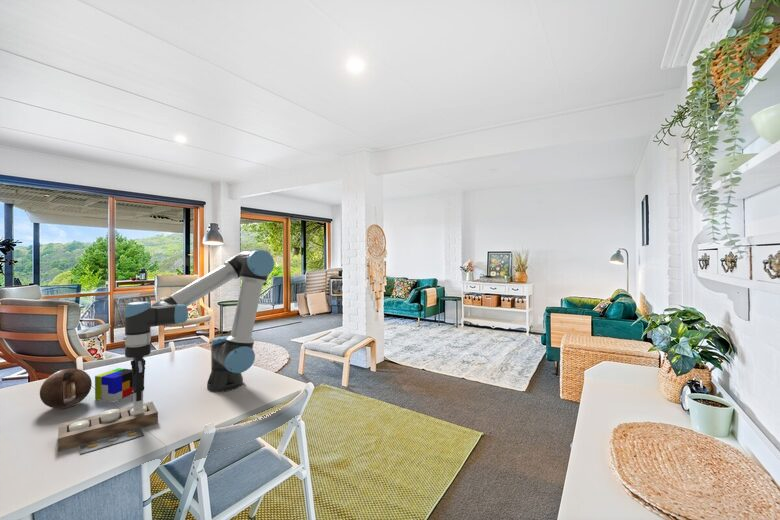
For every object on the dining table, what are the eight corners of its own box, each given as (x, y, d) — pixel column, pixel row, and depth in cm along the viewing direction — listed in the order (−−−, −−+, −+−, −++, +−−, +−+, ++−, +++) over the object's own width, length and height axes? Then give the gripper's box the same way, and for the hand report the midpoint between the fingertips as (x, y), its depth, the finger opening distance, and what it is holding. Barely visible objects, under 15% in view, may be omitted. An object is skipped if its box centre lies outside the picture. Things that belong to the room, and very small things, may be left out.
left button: (89, 428, 116) (89, 418, 116) (89, 434, 113) (89, 424, 112) (69, 434, 113) (68, 423, 113) (69, 440, 109) (68, 429, 109)
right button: (145, 413, 127) (145, 404, 127) (148, 418, 124) (147, 409, 123) (129, 418, 124) (129, 408, 124) (130, 423, 120) (130, 413, 120)
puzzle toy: (114, 401, 140) (114, 378, 140) (95, 399, 142) (94, 376, 142) (137, 392, 150) (136, 369, 149) (118, 390, 152) (118, 368, 151)
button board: (152, 411, 131) (152, 401, 131) (161, 430, 118) (161, 419, 118) (58, 436, 114) (58, 424, 114) (57, 461, 100) (56, 448, 100)
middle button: (118, 417, 122) (118, 407, 122) (120, 422, 118) (120, 412, 118) (100, 421, 118) (100, 412, 118) (101, 427, 115) (101, 417, 115)
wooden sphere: (48, 403, 138) (48, 367, 138) (96, 395, 145) (95, 361, 145) (32, 419, 125) (32, 379, 125) (85, 410, 132) (85, 372, 132)
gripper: (123, 342, 125) (123, 405, 126) (127, 350, 116) (127, 418, 116) (147, 339, 130) (147, 399, 131) (153, 346, 121) (153, 411, 121)
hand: (138, 408), depth 124 cm, fingers closed
